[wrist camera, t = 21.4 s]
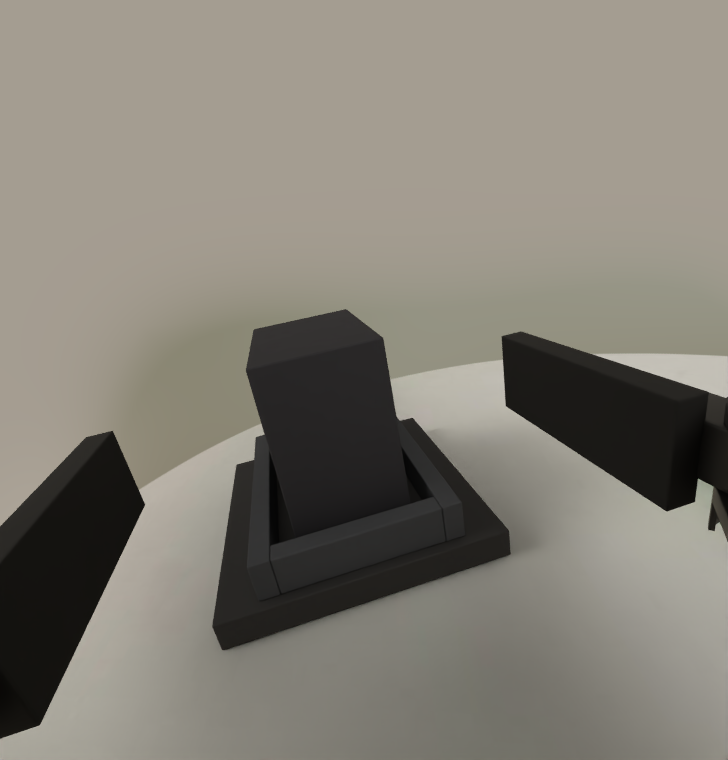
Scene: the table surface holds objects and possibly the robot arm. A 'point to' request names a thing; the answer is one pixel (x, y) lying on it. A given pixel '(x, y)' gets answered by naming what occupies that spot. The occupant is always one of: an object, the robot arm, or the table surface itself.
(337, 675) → the table surface
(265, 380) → the pad block
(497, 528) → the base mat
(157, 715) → the table surface
